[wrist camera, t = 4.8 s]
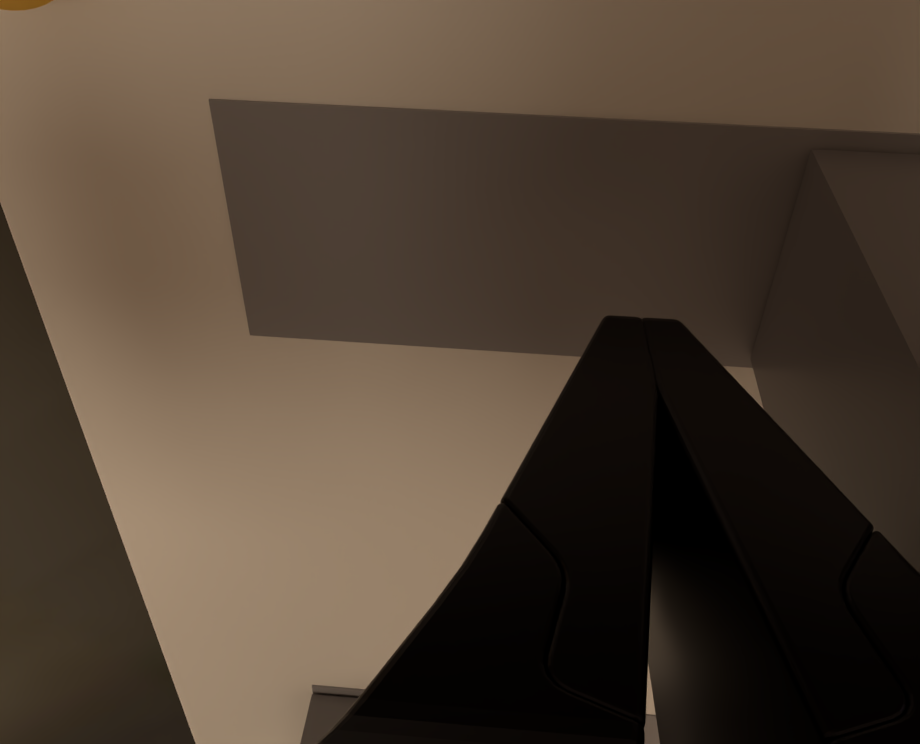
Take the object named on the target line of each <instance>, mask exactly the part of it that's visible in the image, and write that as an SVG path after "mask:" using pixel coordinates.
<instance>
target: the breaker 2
mask: <svg viewBox="0 0 920 744" xmlns="http://www.w3.org/2000/svg"><path fill="white" fill-rule="evenodd" d="M750 359H751V363H752V367H753V371H754V374H755V378H756V382H757V386H758V390H759V393H760V397H761V401H762V405H763V408H764V410H765V411H766V412H767V413H768V414H769V415H770V416H771V418H772V419H773V420H774V421H775V422H776V423H777V424H778V425H779V426H780V427H781V428H782V429H783V430H784V431H785V432H786V433H787V434H788V436H789V437H790V438H791V439H792V440H793V441H794V442H795V443H796V444H797V445H798V446H799V447H800V448H801V449H802V450H803V451H804V453H805V454H806V455H807V456H808V457H809V458H810V459H811V460H812V461H813V462H814V463H815V464H816V465H817V466H818V467H819V468H820V469H821V471H822V472H823V473H824V474H825V475H826V476H827V477H828V478H829V479H830V480H831V481H832V482H833V483H834V484H835V485H836V486H837V487H838V489H839V490H840V491H841V492H842V493H843V494H844V495H845V496H846V497H847V498H848V499H849V500H850V501H851V502H852V503H853V504H854V506H855V507H856V508H857V509H858V510H859V511H860V512H861V513H862V514H863V515H864V516H865V517H866V518H867V519H868V520H869V521H870V522H871V524H872V525H873V527H874V529H873V532H874V531H879V532H880V533H881V534H882V535H883V536H884V537H885V538H886V539H887V540H888V541H889V542H890V543H891V544H892V545H893V546H894V547H895V549H896V550H897V551H898V552H899V553H900V554H901V555H902V556H903V557H904V558H905V559H906V560H907V561H908V562H909V563H910V564H911V565H912V566H913V567H914V568H915V569H916V570H917V571H918V572H919V573H920V155H919V154H899V153H879V152H859V151H840V150H820V149H811V151H810V155H809V158H808V162H807V165H806V169H805V172H804V176H803V179H802V182H801V186H800V189H799V193H798V196H797V200H796V203H795V207H794V210H793V213H792V217H791V220H790V224H789V227H788V231H787V234H786V238H785V241H784V244H783V248H782V251H781V255H780V258H779V262H778V265H777V269H776V272H775V275H774V279H773V282H772V286H771V289H770V293H769V296H768V300H767V303H766V307H765V310H764V313H763V317H762V320H761V324H760V327H759V331H758V334H757V338H756V341H755V344H754V348H753V351H752V355H751V358H750Z"/></svg>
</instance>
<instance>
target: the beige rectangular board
mask: <svg viewBox="0 0 920 744" xmlns="http://www.w3.org/2000/svg"><path fill="white" fill-rule="evenodd" d="M811 149H820V150H840V151H859V152H879V153H899V154H919V155H920V0H0V203H1V206H2V209H3V211H4V214H5V217H6V220H7V222H8V225H9V228H10V231H11V234H12V236H13V239H14V242H15V245H16V247H17V250H18V253H19V256H20V258H21V261H22V264H23V267H24V270H25V272H26V275H27V278H28V281H29V283H30V286H31V289H32V292H33V294H34V297H35V300H36V303H37V306H38V308H39V311H40V314H41V317H42V319H43V322H44V325H45V328H46V330H47V333H48V336H49V339H50V342H51V344H52V347H53V350H54V353H55V355H56V358H57V361H58V364H59V366H60V369H61V372H62V375H63V378H64V380H65V383H66V386H67V389H68V391H69V394H70V397H71V400H72V402H73V405H74V408H75V411H76V414H77V416H78V419H79V422H80V425H81V427H82V430H83V433H84V436H85V438H86V441H87V444H88V447H89V450H90V452H91V455H92V458H93V461H94V463H95V466H96V469H97V472H98V474H99V477H100V480H101V483H102V486H103V488H104V491H105V494H106V497H107V499H108V502H109V505H110V508H111V510H112V513H113V516H114V519H115V522H116V524H117V527H118V530H119V533H120V535H121V538H122V541H123V544H124V547H125V549H126V552H127V555H128V558H129V560H130V563H131V566H132V569H133V571H134V574H135V577H136V580H137V583H138V585H139V588H140V591H141V594H142V596H143V599H144V602H145V605H146V607H147V610H148V613H149V616H150V619H151V621H152V624H153V627H154V630H155V632H156V635H157V638H158V641H159V643H160V646H161V649H162V652H163V655H164V657H165V660H166V663H167V666H168V668H169V671H170V674H171V677H172V679H173V682H174V685H175V688H176V691H177V693H178V696H179V699H180V702H181V704H182V707H183V710H184V713H185V715H186V718H187V721H188V724H189V727H190V729H191V732H192V735H193V738H194V740H195V743H196V744H300V743H301V738H302V734H303V730H304V726H305V721H306V717H307V713H308V709H309V704H310V700H311V696H312V694H315V695H327V696H338V697H349V698H358V697H359V696H360V695H361V694H362V692H363V691H364V690H365V689H366V687H367V686H368V685H369V684H370V682H371V681H372V680H373V679H374V677H375V676H376V675H377V674H378V672H379V671H380V670H381V669H382V667H383V666H384V665H385V664H386V662H387V661H388V660H389V659H390V657H391V656H392V655H393V654H394V652H395V651H396V650H397V649H398V647H399V646H400V645H401V643H402V642H403V641H404V640H405V638H406V637H407V636H408V635H409V633H410V632H411V631H412V630H413V628H414V627H415V626H416V625H417V623H418V622H419V621H420V620H421V618H422V617H423V616H424V615H425V613H426V612H427V611H428V610H429V608H430V607H431V606H432V605H433V603H434V602H435V601H436V599H437V598H438V596H439V595H440V594H441V592H442V591H443V590H444V588H445V587H446V586H447V584H448V583H449V582H450V580H451V579H452V577H453V576H454V575H455V573H456V572H457V571H458V569H459V568H460V567H461V565H462V563H463V562H464V560H465V559H466V557H467V555H468V554H469V552H470V551H471V549H472V547H473V546H474V544H475V543H476V541H477V539H478V538H479V536H480V534H481V533H482V531H483V530H484V528H485V526H486V524H487V523H488V521H489V519H490V517H491V515H492V514H493V512H494V510H495V508H496V507H497V505H498V504H500V501H501V499H502V497H503V495H504V493H505V491H506V490H507V488H508V486H509V484H510V482H511V481H512V479H513V477H514V475H515V474H516V472H517V470H518V468H519V466H520V465H521V463H522V461H523V459H524V458H525V456H526V454H527V452H528V450H529V449H530V447H531V445H532V443H533V441H534V440H535V438H536V436H537V434H538V433H539V431H540V429H541V427H542V425H543V424H544V422H545V420H546V418H547V417H548V415H549V413H550V411H551V409H552V408H553V406H554V404H555V402H556V400H557V399H558V397H559V395H560V393H561V392H562V390H563V388H564V386H565V384H566V383H567V381H568V379H569V377H570V376H571V374H572V372H573V370H574V368H575V367H576V365H577V363H578V361H579V359H580V358H581V356H582V354H583V352H584V351H585V349H586V347H587V345H588V343H589V342H590V340H591V338H592V336H593V334H594V333H595V331H596V329H597V327H598V326H599V324H600V322H601V320H602V319H603V318H604V317H605V316H607V315H615V316H631V317H639V318H641V319H642V318H646V317H647V318H664V319H676V320H679V321H680V322H682V323H683V324H684V325H685V326H686V327H687V328H688V330H689V331H690V332H691V333H692V334H693V335H694V336H695V337H696V338H697V339H698V340H699V341H700V342H701V343H702V344H703V345H704V346H705V348H706V349H707V350H708V351H709V352H710V353H711V354H712V355H713V356H714V357H715V358H716V359H717V360H718V361H719V362H720V363H721V365H722V366H723V367H724V368H725V369H726V370H727V371H728V372H729V373H730V374H731V375H732V376H733V377H734V378H735V379H736V380H737V381H738V383H739V384H740V385H741V386H742V387H743V388H744V389H745V390H746V391H747V392H748V393H749V394H750V395H751V396H752V397H753V398H754V400H755V401H756V402H757V403H758V404H759V405H760V406H761V407H762V408H763V405H762V401H761V397H760V393H759V390H758V386H757V382H756V378H755V374H754V371H753V367H752V363H751V359H750V358H751V355H752V351H753V348H754V344H755V341H756V338H757V334H758V331H759V327H760V324H761V320H762V317H763V313H764V310H765V307H766V303H767V300H768V296H769V293H770V289H771V286H772V282H773V279H774V275H775V272H776V269H777V265H778V262H779V258H780V255H781V251H782V248H783V244H784V241H785V238H786V234H787V231H788V227H789V224H790V220H791V217H792V213H793V210H794V207H795V203H796V200H797V196H798V193H799V189H800V186H801V182H802V179H803V176H804V172H805V169H806V165H807V162H808V158H809V155H810V151H811ZM763 409H764V408H763ZM644 732H645V744H660V741H659V734H658V727H657V720H656V714H655V707H654V700H653V693H652V686H651V679H650V672H649V666H648V675H647V699H646V723H645V727H644Z"/></svg>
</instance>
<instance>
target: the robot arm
mask: <svg viewBox="0 0 920 744" xmlns="http://www.w3.org/2000/svg"><path fill="white" fill-rule="evenodd" d="M873 529H874V527H873V525H872V524H871V522H870V521H869V520H868V519H867V518H866V517H865V516H864V515H863V514H862V513H861V512H860V511H859V510H858V509H857V508H856V507H855V506H854V504H853V503H852V502H851V501H850V500H849V499H848V498H847V497H846V496H845V495H844V494H843V493H842V492H841V491H840V490H839V489H838V487H837V486H836V485H835V484H834V483H833V482H832V481H831V480H830V479H829V478H828V477H827V476H826V475H825V474H824V473H823V472H822V471H821V469H820V468H819V467H818V466H817V465H816V464H815V463H814V462H813V461H812V460H811V459H810V458H809V457H808V456H807V455H806V454H805V453H804V451H803V450H802V449H801V448H800V447H799V446H798V445H797V444H796V443H795V442H794V441H793V440H792V439H791V438H790V437H789V436H788V434H787V433H786V432H785V431H784V430H783V429H782V428H781V427H780V426H779V425H778V424H777V423H776V422H775V421H774V420H773V419H772V418H771V416H770V415H769V414H768V413H767V412H766V411H765V410H764V409H763V408H762V407H761V406H760V405H759V404H758V403H757V402H756V401H755V400H754V398H753V397H752V396H751V395H750V394H749V393H748V392H747V391H746V390H745V389H744V388H743V387H742V386H741V385H740V384H739V383H738V381H737V380H736V379H735V378H734V377H733V376H732V375H731V374H730V373H729V372H728V371H727V370H726V369H725V368H724V367H723V366H722V365H721V363H720V362H719V361H718V360H717V359H716V358H715V357H714V356H713V355H712V354H711V353H710V352H709V351H708V350H707V349H706V348H705V346H704V345H703V344H702V343H701V342H700V341H699V340H698V339H697V338H696V337H695V336H694V335H693V334H692V333H691V332H690V331H689V330H688V328H687V327H686V326H685V325H684V324H683V323H682V322H680V321H679V320H676V319H664V318H647V317H646V318H642V319H641V318H639V317H631V316H615V315H607V316H605V317H604V318H603V319H602V320H601V322H600V324H599V326H598V327H597V329H596V331H595V333H594V334H593V336H592V338H591V340H590V342H589V343H588V345H587V347H586V349H585V351H584V352H583V354H582V356H581V358H580V359H579V361H578V363H577V365H576V367H575V368H574V370H573V372H572V374H571V376H570V377H569V379H568V381H567V383H566V384H565V386H564V388H563V390H562V392H561V393H560V395H559V397H558V399H557V400H556V402H555V404H554V406H553V408H552V409H551V411H550V413H549V415H548V417H547V418H546V420H545V422H544V424H543V425H542V427H541V429H540V431H539V433H538V434H537V436H536V438H535V440H534V441H533V443H532V445H531V447H530V449H529V450H528V452H527V454H526V456H525V458H524V459H523V461H522V463H521V465H520V466H519V468H518V470H517V472H516V474H515V475H514V477H513V479H512V481H511V482H510V484H509V486H508V488H507V490H506V491H505V493H504V495H503V497H502V499H501V501H500V504H498V505H497V507H496V508H495V510H494V512H493V514H492V515H491V517H490V519H489V521H488V523H487V524H486V526H485V528H484V530H483V531H482V533H481V534H480V536H479V538H478V539H477V541H476V543H475V544H474V546H473V547H472V549H471V551H470V552H469V554H468V555H467V557H466V559H465V560H464V562H463V563H462V565H461V567H460V568H459V569H458V571H457V572H456V573H455V575H454V576H453V577H452V579H451V580H450V582H449V583H448V584H447V586H446V587H445V588H444V590H443V591H442V592H441V594H440V595H439V596H438V598H437V599H436V601H435V602H434V603H433V605H432V606H431V607H430V608H429V610H428V611H427V612H426V613H425V615H424V616H423V617H422V618H421V620H420V621H419V622H418V623H417V625H416V626H415V627H414V628H413V630H412V631H411V632H410V633H409V635H408V636H407V637H406V638H405V640H404V641H403V642H402V643H401V645H400V646H399V647H398V649H397V650H396V651H395V652H394V654H393V655H392V656H391V657H390V659H389V660H388V661H387V662H386V664H385V665H384V666H383V667H382V669H381V670H380V671H379V672H378V674H377V675H376V676H375V677H374V679H373V680H372V681H371V682H370V684H369V685H368V686H367V687H366V689H365V690H364V691H363V692H362V694H361V695H360V696H359V697H358V699H357V700H356V701H355V702H354V703H353V705H352V706H351V707H350V708H349V709H348V711H347V712H346V713H345V714H344V715H343V716H342V718H341V719H340V720H339V721H338V722H337V723H336V724H335V725H334V726H333V727H332V728H331V729H330V730H329V731H328V732H327V733H326V734H325V735H324V736H323V737H322V738H321V739H320V740H319V741H318V742H316V743H315V744H645V732H644V727H645V723H646V699H647V675H648V666H649V672H650V679H651V686H652V693H653V700H654V707H655V714H656V720H657V727H658V734H659V741H660V744H920V573H919V572H918V571H917V570H916V569H915V568H914V567H913V566H912V565H911V564H910V563H909V562H908V561H907V560H906V559H905V558H904V557H903V556H902V555H901V554H900V553H899V552H898V551H897V550H896V549H895V547H894V546H893V545H892V544H891V543H890V542H889V541H888V540H887V539H886V538H885V537H884V536H883V535H882V534H881V533H880V532H879V531H874V532H873Z"/></svg>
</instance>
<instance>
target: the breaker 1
mask: <svg viewBox="0 0 920 744" xmlns="http://www.w3.org/2000/svg"><path fill="white" fill-rule="evenodd" d="M357 699H358V698H349V697H338V696H327V695H315V694H312V696H311V700H310V704H309V709H308V713H307V717H306V721H305V726H304V730H303V734H302V738H301V743H300V744H315V743H316V742H318V741H319V740H320V739H321V738H322V737H323V736H324V735H325V734H326V733H327V732H328V731H329V730H330V729H331V728H332V727H333V726H334V725H335V724H336V723H337V722H338V721H339V720H340V719H341V718H342V716H343V715H344V714H345V713H346V712H347V711H348V709H349V708H350V707H351V706H352V705H353V703H354V702H355V701H356V700H357Z"/></svg>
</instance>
